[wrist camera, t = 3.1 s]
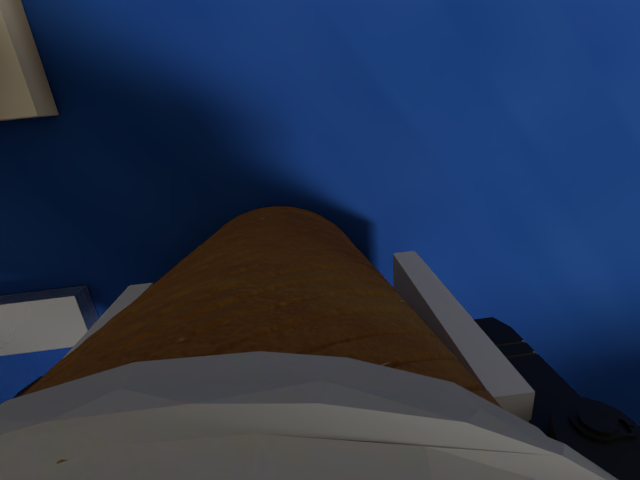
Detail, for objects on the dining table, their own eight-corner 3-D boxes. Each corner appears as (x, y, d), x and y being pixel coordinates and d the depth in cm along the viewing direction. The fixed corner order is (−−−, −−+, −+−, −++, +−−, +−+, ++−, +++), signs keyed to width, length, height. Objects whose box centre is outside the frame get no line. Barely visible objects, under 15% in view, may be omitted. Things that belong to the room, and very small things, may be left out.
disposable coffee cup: (95, 236, 13) (-1484, 1274, 1) (341, 107, 12) (1381, 109, 1) (237, 418, 16) (104, 1174, 5) (438, 327, 15) (878, 988, 4)
